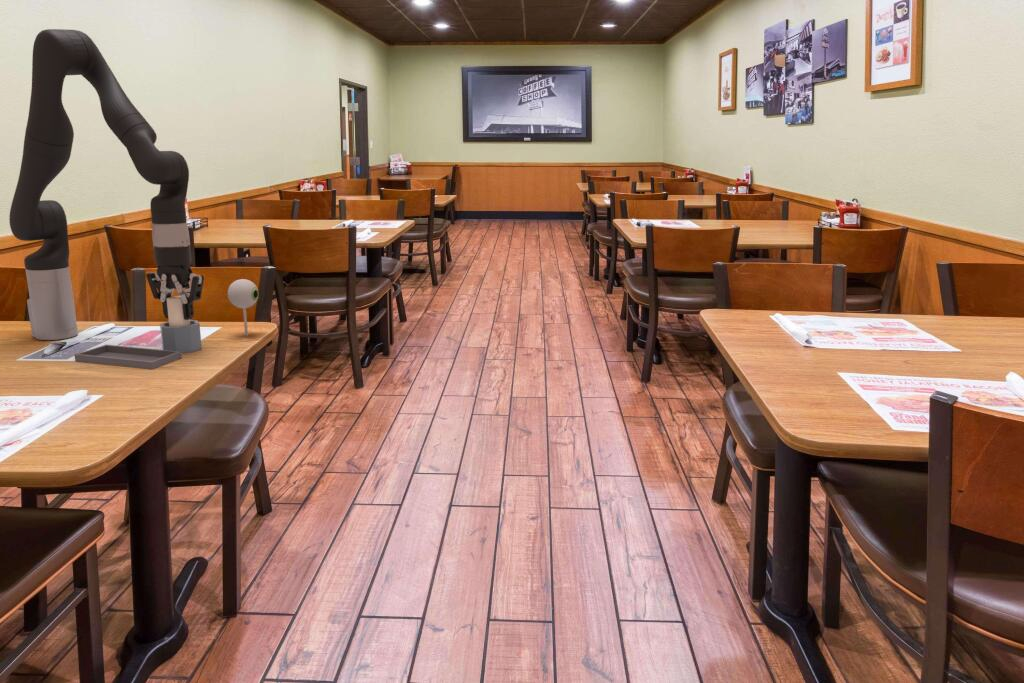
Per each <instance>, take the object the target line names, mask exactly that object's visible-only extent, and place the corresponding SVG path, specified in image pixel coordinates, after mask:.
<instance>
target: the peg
mask: <svg viewBox="0 0 1024 683" xmlns="http://www.w3.org/2000/svg"><path fill="white" fill-rule="evenodd" d="M187 298H188V297H187ZM166 300H167V309H168V318H167V319H168V321H169V327H182V326H189V325H190V320H191V319H189V320H184V315H183V305H182V304H184V303H183V301H182V298H181V295H174V296H172V297H168V298H166Z"/></svg>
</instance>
